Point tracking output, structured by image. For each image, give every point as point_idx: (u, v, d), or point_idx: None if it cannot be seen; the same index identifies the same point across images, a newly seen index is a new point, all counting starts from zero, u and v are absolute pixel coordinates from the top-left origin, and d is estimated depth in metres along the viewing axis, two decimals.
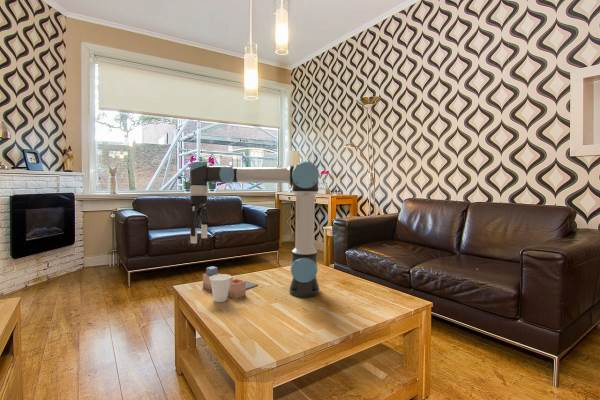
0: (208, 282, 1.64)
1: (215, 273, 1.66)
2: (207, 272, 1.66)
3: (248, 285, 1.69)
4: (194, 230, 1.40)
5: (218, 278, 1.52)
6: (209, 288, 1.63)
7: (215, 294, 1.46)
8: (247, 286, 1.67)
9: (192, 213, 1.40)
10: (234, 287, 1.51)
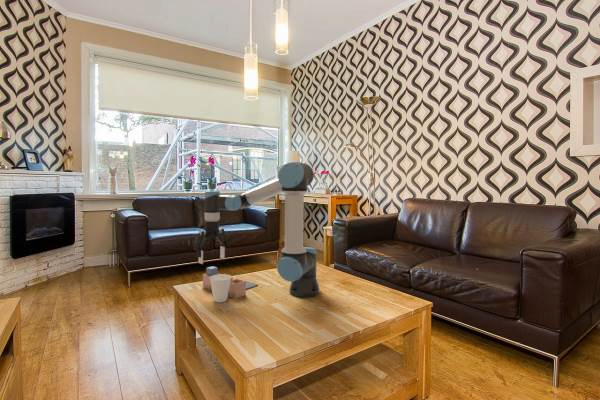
0: (208, 282, 1.64)
1: (215, 273, 1.66)
2: (207, 272, 1.66)
3: (248, 285, 1.69)
4: (200, 252, 1.59)
5: (218, 278, 1.52)
6: (209, 288, 1.63)
7: (215, 294, 1.46)
8: (247, 286, 1.67)
9: (199, 237, 1.60)
10: (234, 287, 1.51)
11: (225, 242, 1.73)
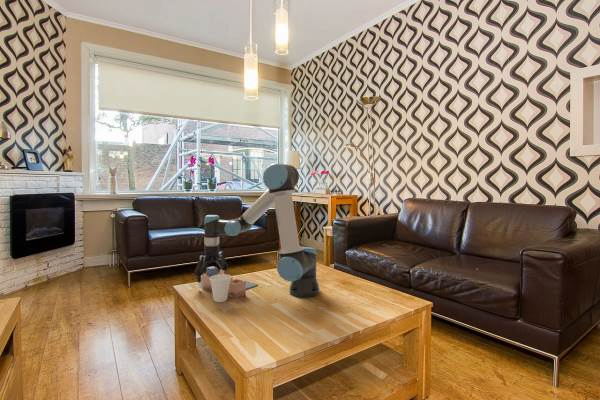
0: (208, 282, 1.64)
1: (215, 273, 1.66)
2: (207, 272, 1.66)
3: (248, 285, 1.69)
4: (199, 277, 1.60)
5: (218, 278, 1.52)
6: (209, 288, 1.63)
7: (215, 294, 1.46)
8: (247, 286, 1.67)
9: (199, 262, 1.61)
10: (234, 287, 1.51)
11: None
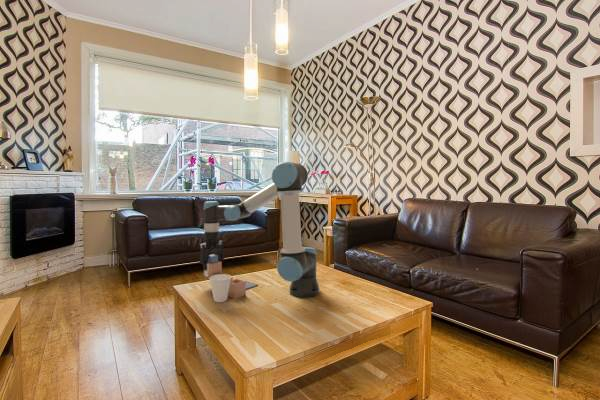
0: (209, 270, 1.63)
1: (216, 261, 1.66)
2: (208, 260, 1.65)
3: (248, 285, 1.69)
4: (205, 265, 1.62)
5: (218, 278, 1.52)
6: (210, 276, 1.63)
7: (215, 294, 1.46)
8: (247, 286, 1.67)
9: (201, 250, 1.61)
10: (234, 287, 1.51)
11: (221, 256, 1.71)
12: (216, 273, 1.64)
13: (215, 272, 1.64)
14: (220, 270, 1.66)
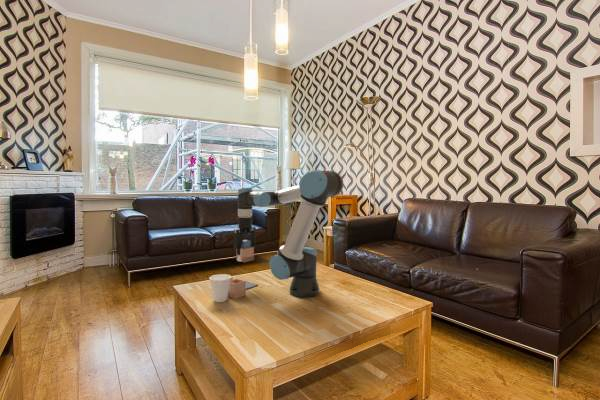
0: (242, 254, 1.66)
1: (248, 246, 1.68)
2: None
3: (248, 285, 1.69)
4: (239, 250, 1.65)
5: (218, 278, 1.52)
6: (243, 260, 1.65)
7: (215, 294, 1.46)
8: (247, 286, 1.67)
9: (235, 235, 1.64)
10: (234, 287, 1.51)
11: (252, 242, 1.74)
12: (249, 258, 1.67)
13: (247, 256, 1.66)
14: (252, 255, 1.69)
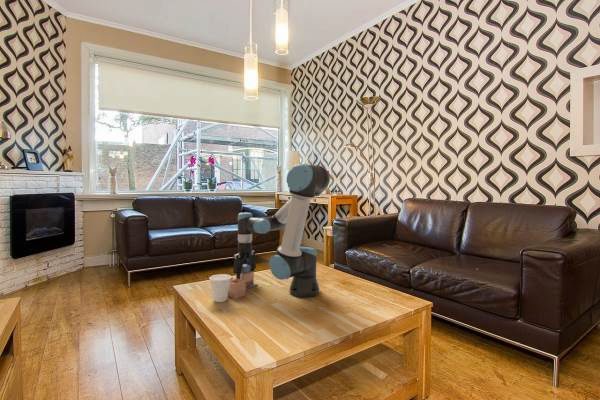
0: (242, 279, 1.66)
1: (248, 271, 1.69)
2: None
3: None
4: (239, 275, 1.66)
5: (218, 278, 1.52)
6: None
7: (215, 294, 1.46)
8: None
9: (235, 261, 1.64)
10: (234, 287, 1.51)
11: None
12: (248, 283, 1.68)
13: (247, 281, 1.67)
14: (252, 280, 1.70)
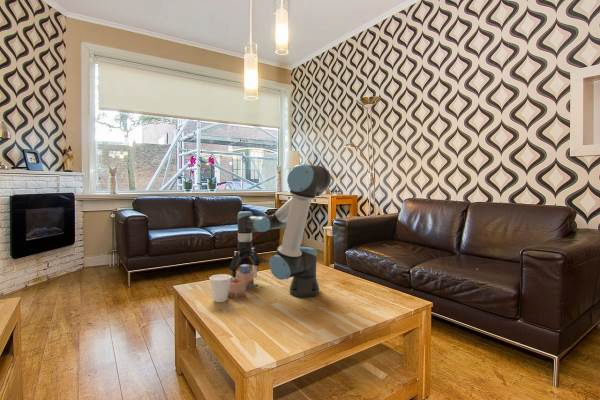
0: (242, 279, 1.66)
1: (248, 271, 1.69)
2: (240, 270, 1.69)
3: None
4: (234, 272, 1.63)
5: (218, 278, 1.52)
6: None
7: (215, 294, 1.46)
8: None
9: (234, 257, 1.63)
10: (234, 287, 1.51)
11: (257, 261, 1.77)
12: (248, 283, 1.68)
13: (247, 281, 1.67)
14: (252, 280, 1.70)
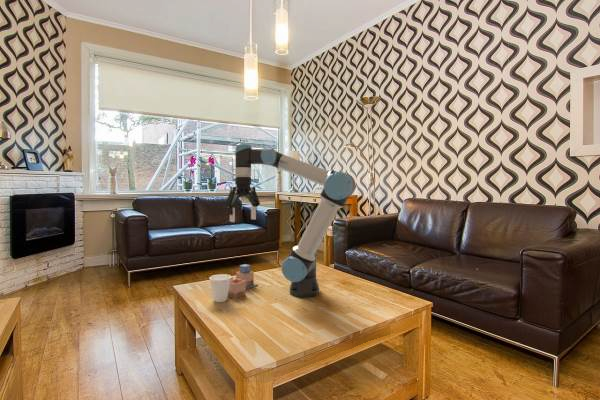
0: (242, 279, 1.66)
1: (248, 271, 1.69)
2: (240, 270, 1.69)
3: None
4: (231, 209, 1.47)
5: (218, 278, 1.52)
6: None
7: (215, 294, 1.46)
8: None
9: (230, 193, 1.48)
10: (234, 287, 1.51)
11: (256, 202, 1.61)
12: (248, 283, 1.68)
13: (247, 281, 1.67)
14: (252, 280, 1.70)
